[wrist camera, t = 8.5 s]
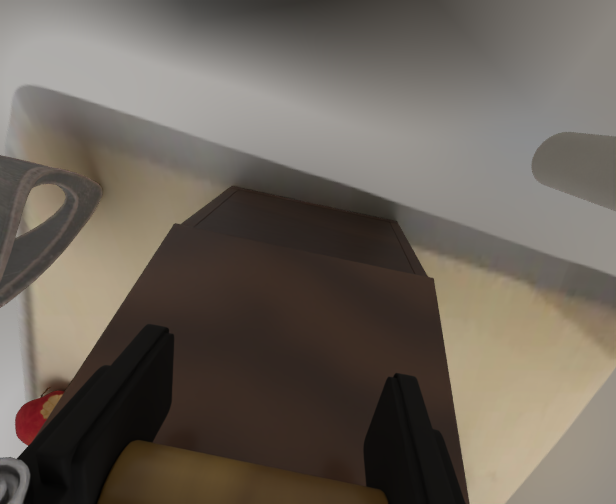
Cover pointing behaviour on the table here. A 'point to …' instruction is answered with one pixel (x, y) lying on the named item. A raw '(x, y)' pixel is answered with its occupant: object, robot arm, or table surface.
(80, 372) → the lid
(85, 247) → the table surface
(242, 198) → the chest
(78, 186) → the sculpture
